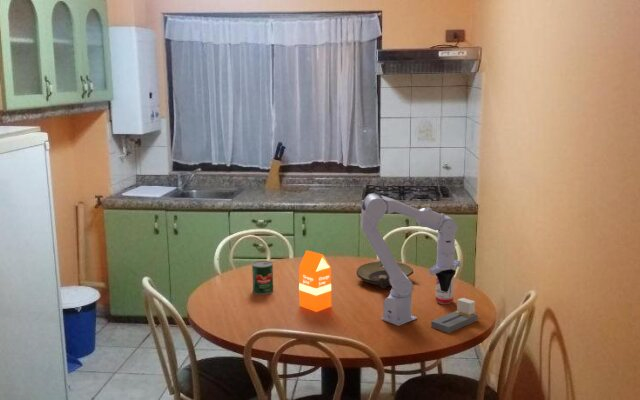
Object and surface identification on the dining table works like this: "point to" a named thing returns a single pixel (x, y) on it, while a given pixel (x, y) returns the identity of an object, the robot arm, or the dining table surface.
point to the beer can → (444, 293)
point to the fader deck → (453, 321)
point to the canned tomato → (262, 277)
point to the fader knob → (466, 306)
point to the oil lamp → (379, 273)
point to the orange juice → (314, 282)
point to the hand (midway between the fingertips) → (444, 290)
